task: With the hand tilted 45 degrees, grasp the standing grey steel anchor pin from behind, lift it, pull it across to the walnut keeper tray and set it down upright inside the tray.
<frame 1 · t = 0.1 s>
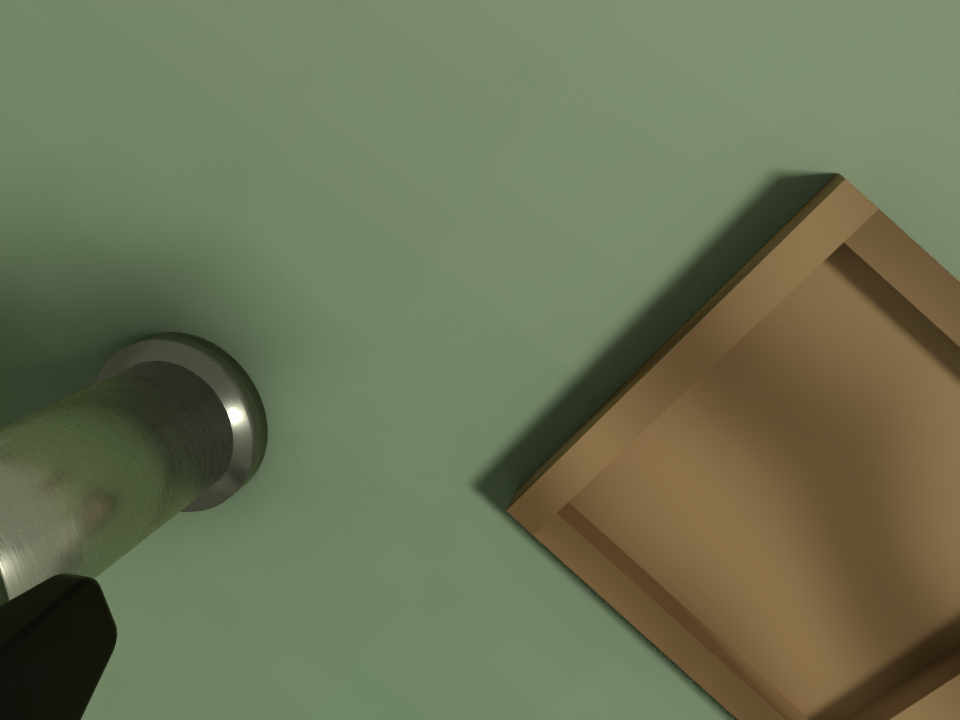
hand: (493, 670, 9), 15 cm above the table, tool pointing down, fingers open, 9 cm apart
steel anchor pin: (187, 417, 28), on the table
walnut keeper tray: (829, 499, 23), on the table
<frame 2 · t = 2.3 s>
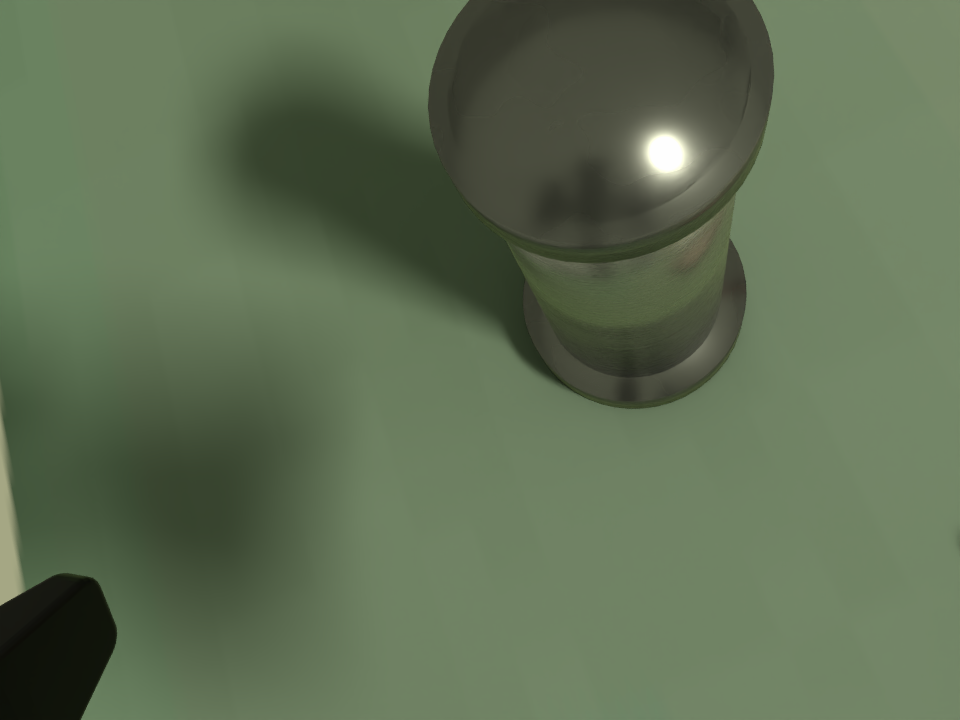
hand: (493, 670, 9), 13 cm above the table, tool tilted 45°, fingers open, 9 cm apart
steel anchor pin: (633, 304, 23), on the table
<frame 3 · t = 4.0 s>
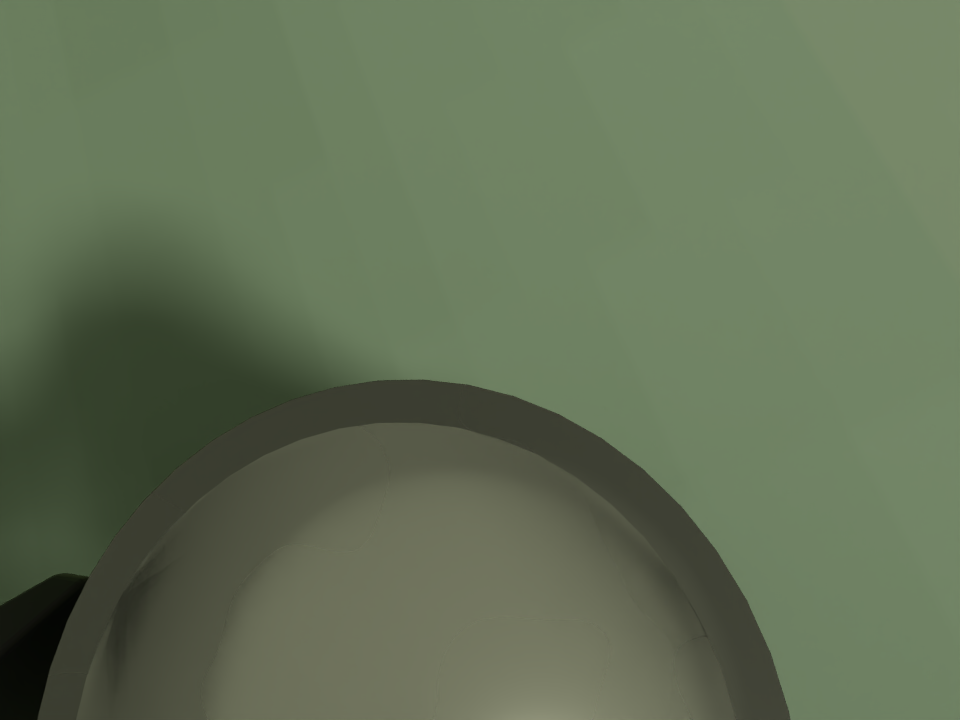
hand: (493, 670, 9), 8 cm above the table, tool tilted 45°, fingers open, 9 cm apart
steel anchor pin: (577, 648, 16), on the table
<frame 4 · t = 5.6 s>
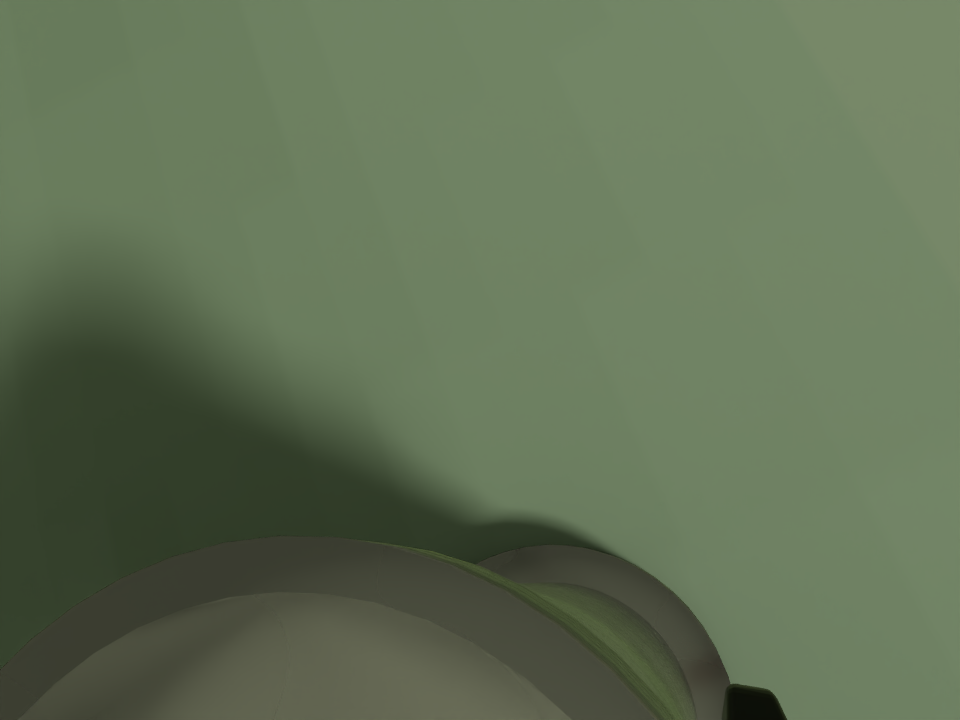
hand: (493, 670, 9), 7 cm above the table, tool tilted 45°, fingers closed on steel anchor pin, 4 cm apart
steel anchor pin: (562, 717, 15), on the table, touching gripper
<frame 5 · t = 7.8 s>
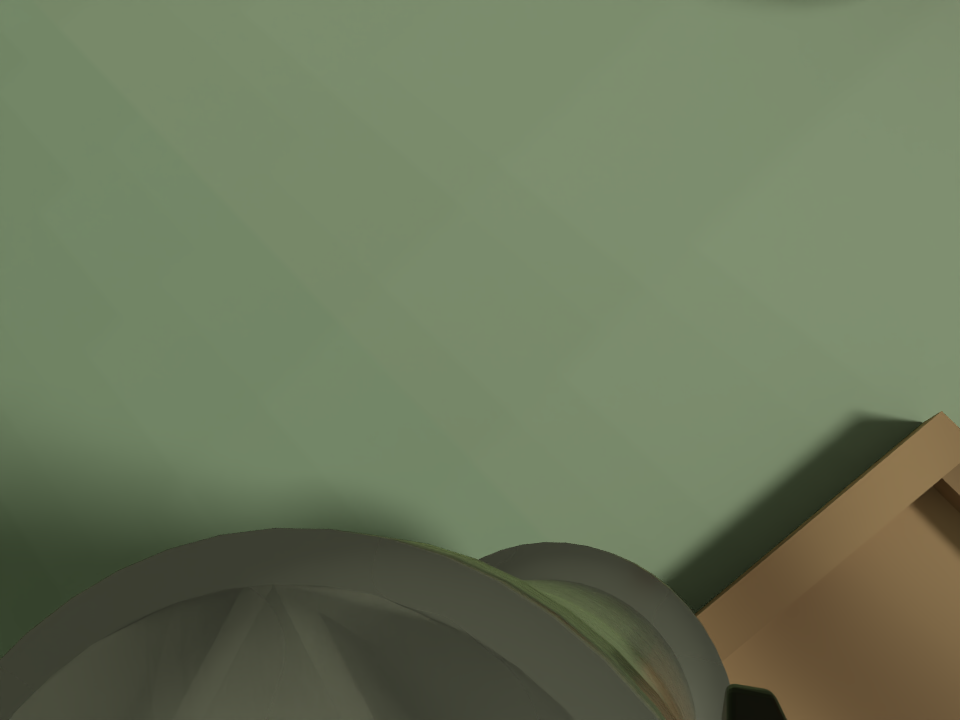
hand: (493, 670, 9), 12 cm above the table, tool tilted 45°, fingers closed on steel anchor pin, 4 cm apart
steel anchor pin: (561, 714, 15), point 6 cm above the table, touching gripper
when the fingers open (8 cm above the table, at t = 10.2 s): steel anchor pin drops 1 cm, resting on walnut keeper tray.
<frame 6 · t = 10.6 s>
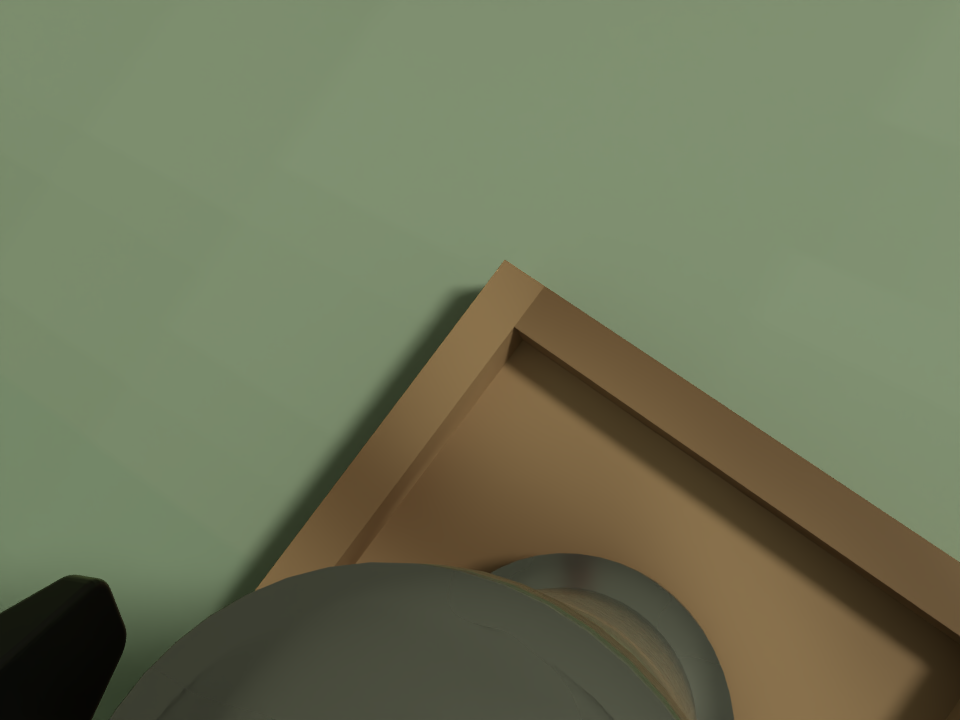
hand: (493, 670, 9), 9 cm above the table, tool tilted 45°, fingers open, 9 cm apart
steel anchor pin: (573, 709, 16), resting on walnut keeper tray
walnut keeper tray: (576, 701, 16), on the table
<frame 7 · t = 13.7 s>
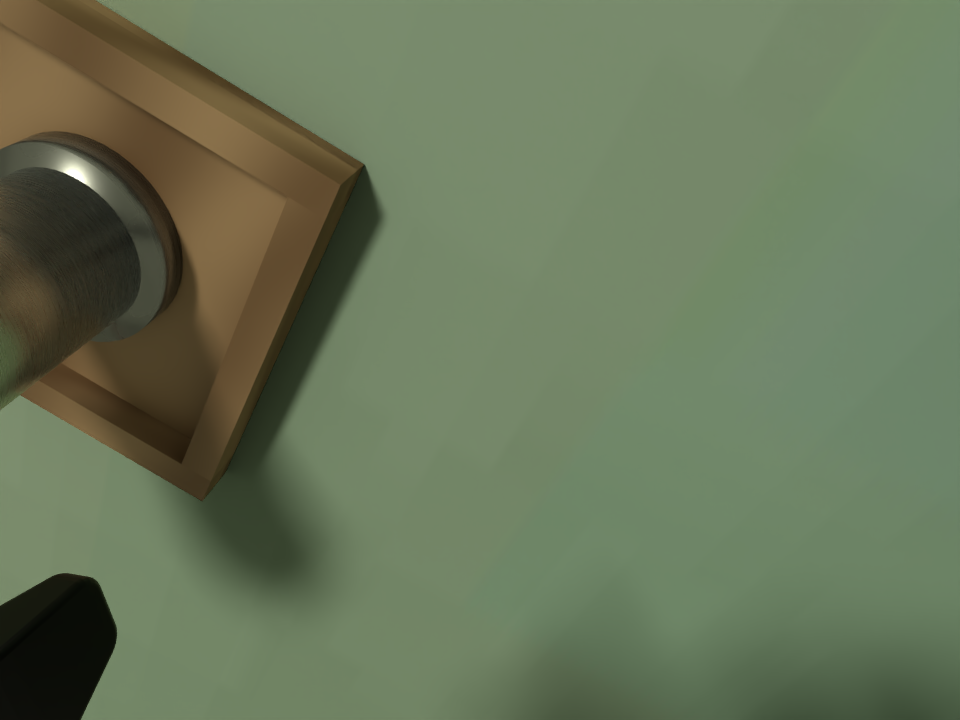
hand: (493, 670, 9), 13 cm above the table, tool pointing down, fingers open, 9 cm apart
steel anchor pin: (89, 233, 24), resting on walnut keeper tray
walnut keeper tray: (95, 227, 24), on the table
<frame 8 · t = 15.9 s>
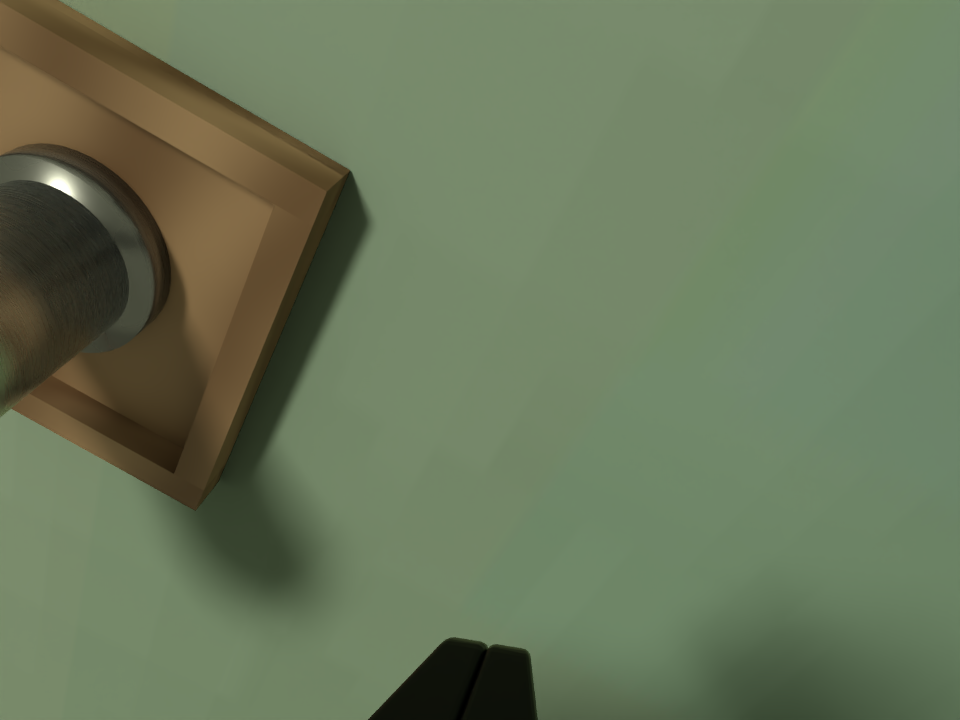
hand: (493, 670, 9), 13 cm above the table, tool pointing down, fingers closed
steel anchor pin: (76, 245, 23), resting on walnut keeper tray
walnut keeper tray: (82, 238, 24), on the table
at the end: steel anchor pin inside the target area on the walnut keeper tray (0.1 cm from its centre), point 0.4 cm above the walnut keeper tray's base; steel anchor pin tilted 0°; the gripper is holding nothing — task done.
